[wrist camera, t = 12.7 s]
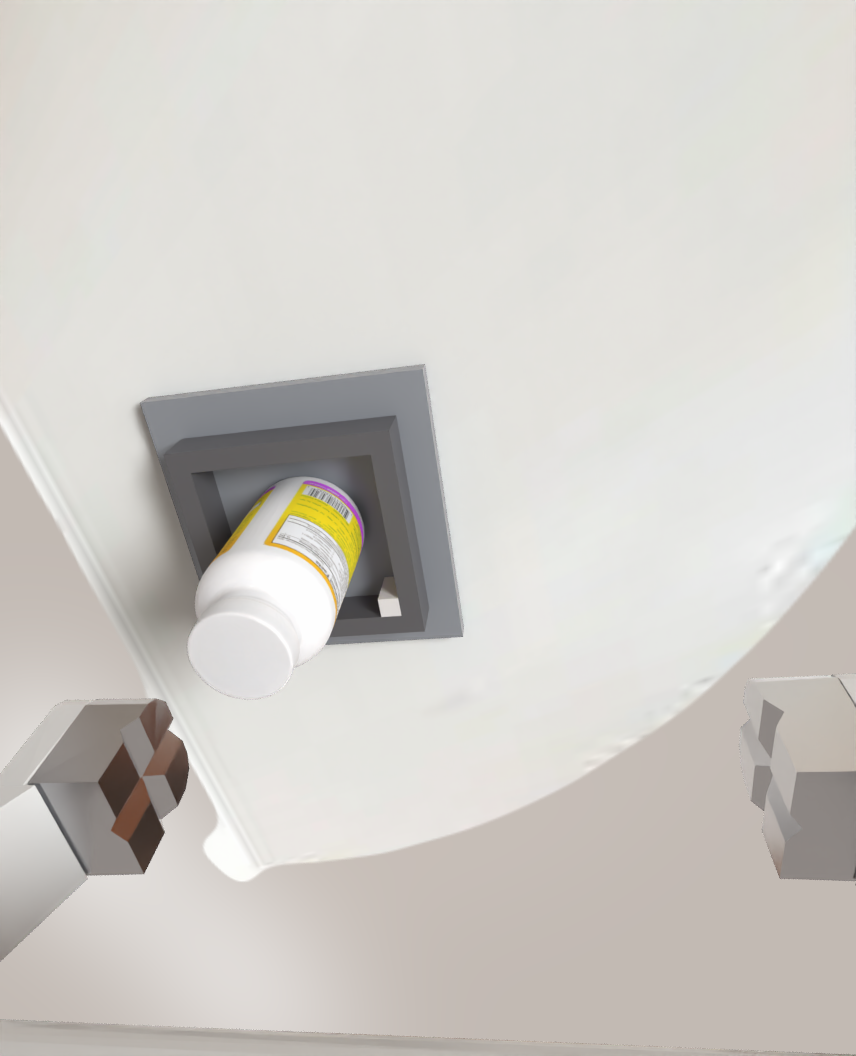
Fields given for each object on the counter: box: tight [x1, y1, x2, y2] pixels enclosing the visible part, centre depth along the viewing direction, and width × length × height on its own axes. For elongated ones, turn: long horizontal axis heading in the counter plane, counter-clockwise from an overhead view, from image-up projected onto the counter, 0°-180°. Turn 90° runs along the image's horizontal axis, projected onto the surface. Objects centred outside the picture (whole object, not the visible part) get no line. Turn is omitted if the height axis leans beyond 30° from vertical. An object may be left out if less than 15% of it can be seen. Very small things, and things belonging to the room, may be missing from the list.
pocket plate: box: [140, 364, 464, 645], centre depth 41 cm, size 17×16×4 cm
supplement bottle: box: [187, 476, 364, 700], centre depth 36 cm, size 7×7×13 cm
